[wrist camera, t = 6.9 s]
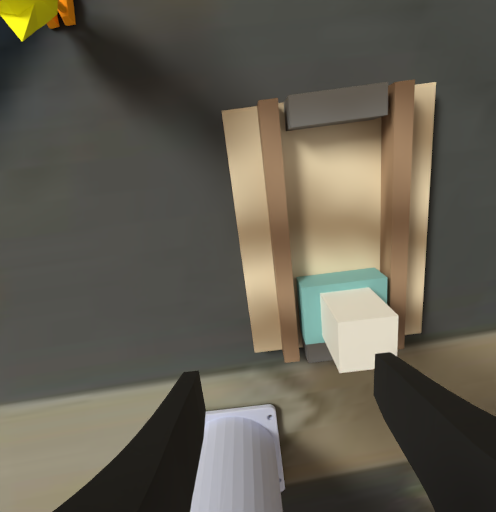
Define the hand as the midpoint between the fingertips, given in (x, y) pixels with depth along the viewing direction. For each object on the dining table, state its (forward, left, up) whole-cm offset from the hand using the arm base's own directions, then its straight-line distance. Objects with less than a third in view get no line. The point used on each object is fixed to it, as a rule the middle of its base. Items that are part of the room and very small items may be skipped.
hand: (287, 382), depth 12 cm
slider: (-1, -4, -8) cm, 9 cm away
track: (+4, -5, -9) cm, 11 cm away
